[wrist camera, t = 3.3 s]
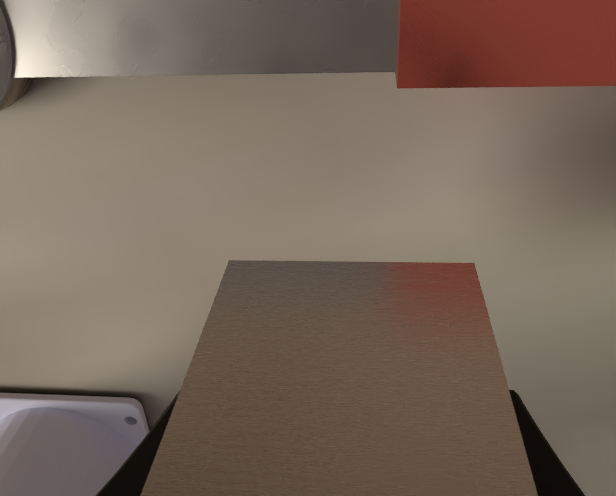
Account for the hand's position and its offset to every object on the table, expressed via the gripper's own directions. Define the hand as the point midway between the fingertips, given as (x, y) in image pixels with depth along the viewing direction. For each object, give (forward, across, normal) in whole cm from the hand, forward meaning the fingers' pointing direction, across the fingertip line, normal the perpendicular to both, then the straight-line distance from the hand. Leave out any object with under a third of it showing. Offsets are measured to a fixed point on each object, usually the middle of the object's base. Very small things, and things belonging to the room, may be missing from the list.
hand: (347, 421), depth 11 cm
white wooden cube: (+2, 0, 0) cm, 2 cm away
